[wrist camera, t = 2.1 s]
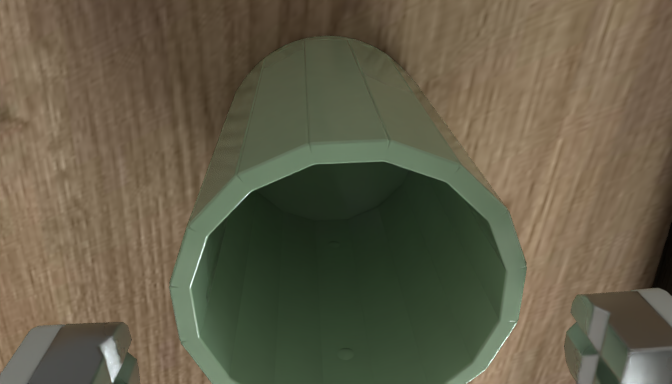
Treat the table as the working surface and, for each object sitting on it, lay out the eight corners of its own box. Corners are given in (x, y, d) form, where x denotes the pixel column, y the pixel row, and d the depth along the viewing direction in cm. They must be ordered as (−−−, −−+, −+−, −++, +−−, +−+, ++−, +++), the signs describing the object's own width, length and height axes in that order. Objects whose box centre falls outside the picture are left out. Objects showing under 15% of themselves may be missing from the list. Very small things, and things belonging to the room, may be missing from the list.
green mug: (217, 39, 17) (141, 150, 9) (430, 31, 17) (550, 132, 9) (248, 301, 21) (217, 536, 13) (415, 292, 21) (486, 516, 13)
